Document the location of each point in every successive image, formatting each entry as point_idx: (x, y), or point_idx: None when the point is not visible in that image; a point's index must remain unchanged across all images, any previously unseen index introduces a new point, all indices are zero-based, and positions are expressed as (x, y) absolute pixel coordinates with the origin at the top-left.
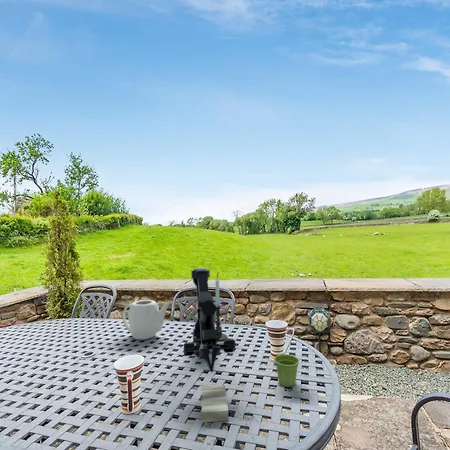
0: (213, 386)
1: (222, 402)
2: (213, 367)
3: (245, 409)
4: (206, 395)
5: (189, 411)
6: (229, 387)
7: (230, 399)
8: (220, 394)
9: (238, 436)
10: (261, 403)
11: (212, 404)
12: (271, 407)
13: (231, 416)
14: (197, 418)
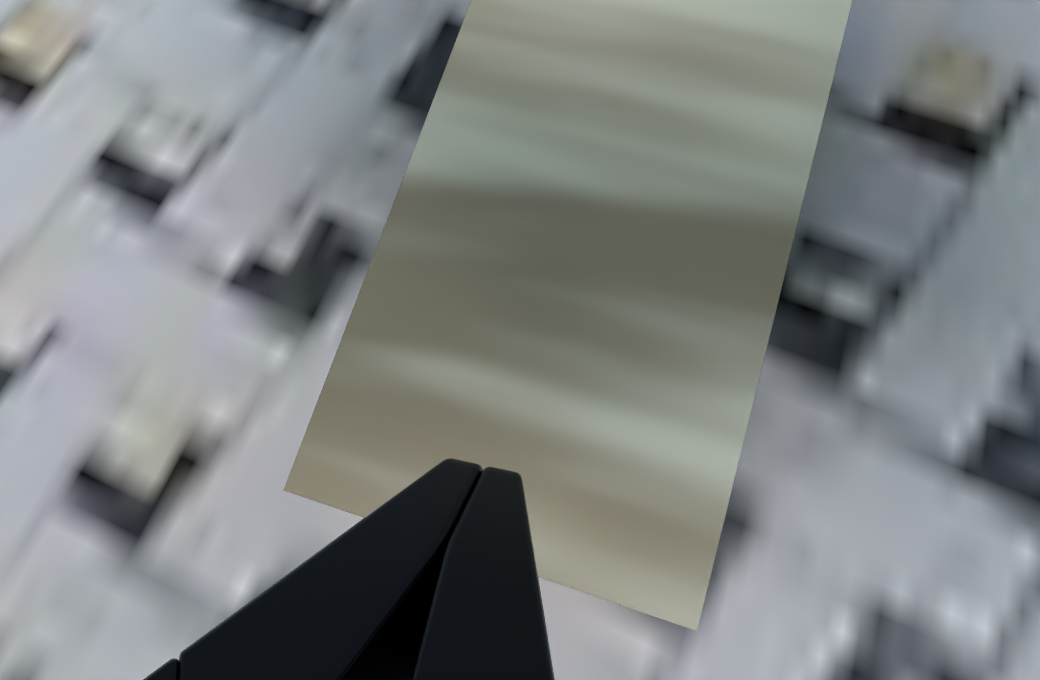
0: None
1: (522, 43)
2: (388, 504)
3: (268, 85)
4: (694, 302)
5: (944, 278)
6: None
7: (329, 338)
8: (468, 247)
9: None
10: (48, 127)
11: (672, 47)
12: (7, 30)
13: None
14: (861, 109)
